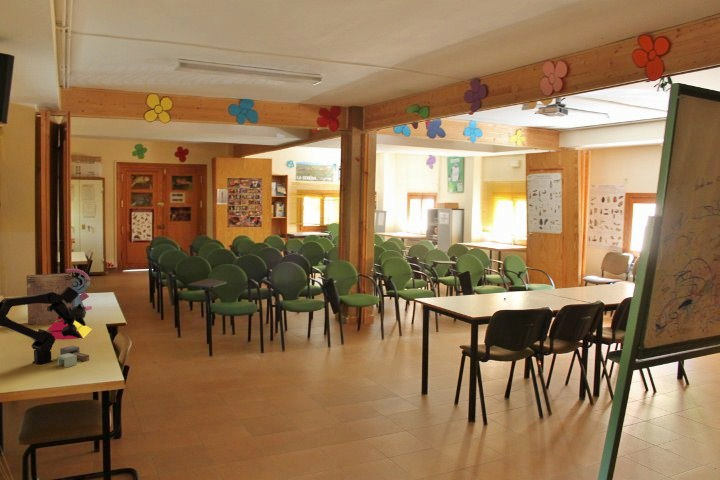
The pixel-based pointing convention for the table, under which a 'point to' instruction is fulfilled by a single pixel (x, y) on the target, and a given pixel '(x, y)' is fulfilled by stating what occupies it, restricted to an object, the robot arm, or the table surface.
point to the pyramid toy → (58, 326)
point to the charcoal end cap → (69, 350)
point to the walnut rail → (81, 356)
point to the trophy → (83, 295)
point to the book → (41, 284)
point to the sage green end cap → (67, 359)
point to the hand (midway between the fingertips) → (83, 331)
